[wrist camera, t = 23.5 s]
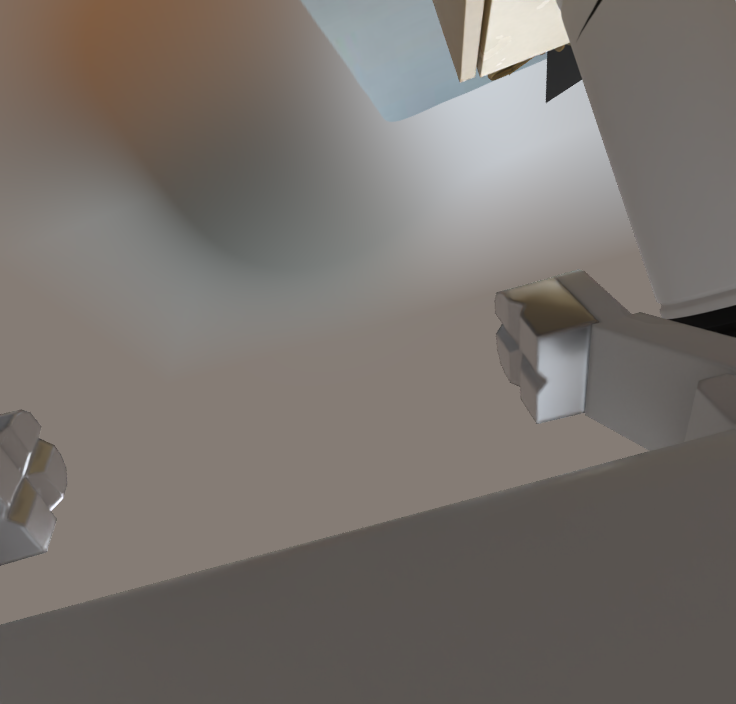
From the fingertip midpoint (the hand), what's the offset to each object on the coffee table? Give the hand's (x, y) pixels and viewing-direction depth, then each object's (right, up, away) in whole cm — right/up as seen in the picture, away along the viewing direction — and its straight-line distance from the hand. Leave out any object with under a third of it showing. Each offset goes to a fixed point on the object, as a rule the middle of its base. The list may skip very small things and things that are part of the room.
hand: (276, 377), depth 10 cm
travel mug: (+12, +19, +15) cm, 27 cm away
